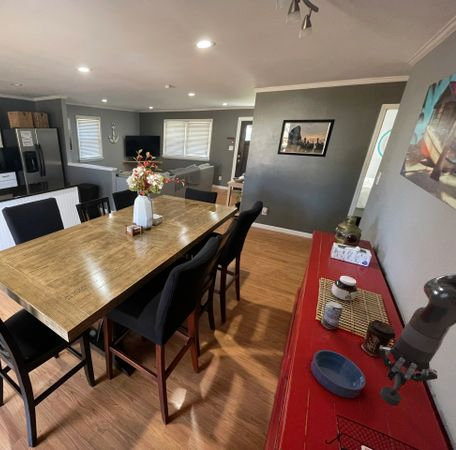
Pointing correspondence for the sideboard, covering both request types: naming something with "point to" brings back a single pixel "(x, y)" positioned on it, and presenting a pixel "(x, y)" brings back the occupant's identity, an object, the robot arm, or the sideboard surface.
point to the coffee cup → (377, 337)
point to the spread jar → (344, 288)
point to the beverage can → (331, 315)
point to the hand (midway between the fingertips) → (394, 380)
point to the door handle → (393, 390)
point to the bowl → (337, 374)
